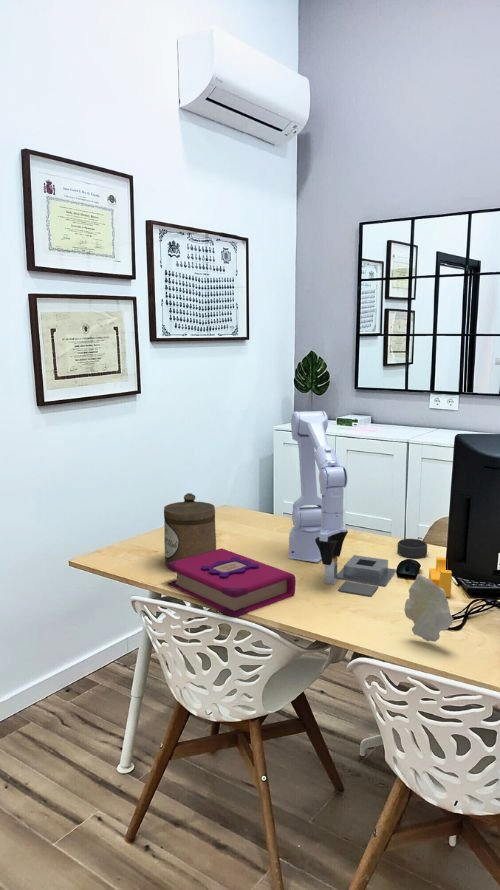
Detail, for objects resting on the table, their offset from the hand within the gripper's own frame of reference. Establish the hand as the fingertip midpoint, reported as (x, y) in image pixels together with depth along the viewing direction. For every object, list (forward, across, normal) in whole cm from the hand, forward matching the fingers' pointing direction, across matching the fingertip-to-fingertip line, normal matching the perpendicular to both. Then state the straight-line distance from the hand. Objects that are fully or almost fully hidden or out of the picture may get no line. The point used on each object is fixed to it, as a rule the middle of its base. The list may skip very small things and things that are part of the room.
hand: (331, 560), depth 175 cm
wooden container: (+7, -6, +41) cm, 42 cm away
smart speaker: (+7, +34, -15) cm, 38 cm away
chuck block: (+6, +10, -7) cm, 14 cm away
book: (+7, -17, +22) cm, 29 cm away
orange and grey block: (+6, 0, 0) cm, 7 cm away
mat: (+6, -1, -8) cm, 10 cm away
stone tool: (+7, -24, -30) cm, 39 cm away
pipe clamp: (+7, +10, -27) cm, 30 cm away
